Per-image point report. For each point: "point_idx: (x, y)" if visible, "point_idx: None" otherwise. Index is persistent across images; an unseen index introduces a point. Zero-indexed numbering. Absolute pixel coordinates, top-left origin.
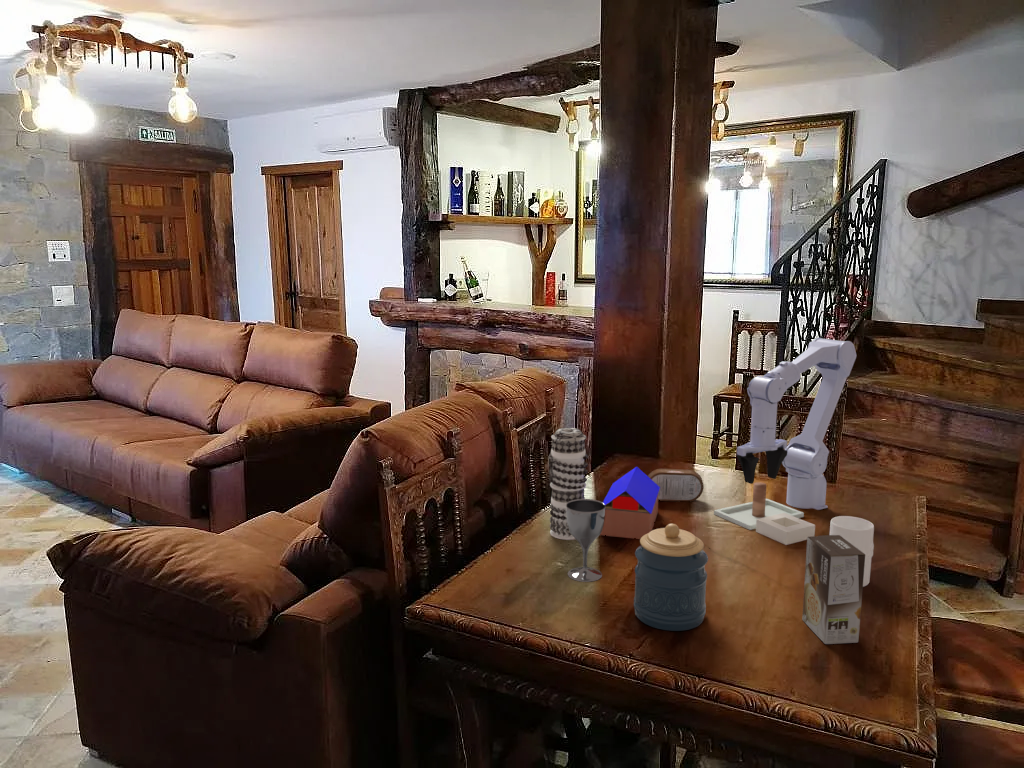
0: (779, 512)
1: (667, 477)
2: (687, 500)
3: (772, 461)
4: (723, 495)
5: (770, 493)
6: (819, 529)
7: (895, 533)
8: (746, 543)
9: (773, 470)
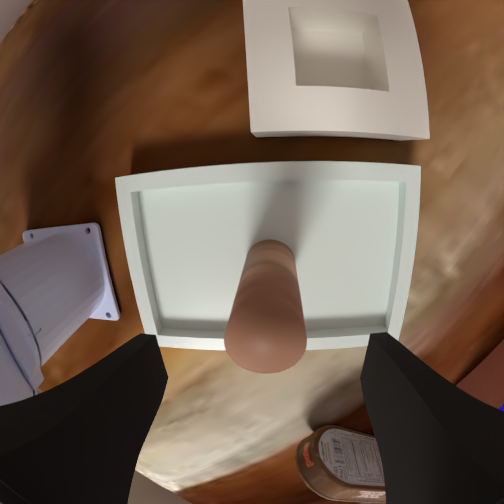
0: (173, 248)
1: None
2: (341, 428)
3: (109, 447)
4: (221, 423)
5: None
6: (142, 87)
7: (26, 36)
8: (459, 116)
9: (132, 384)
